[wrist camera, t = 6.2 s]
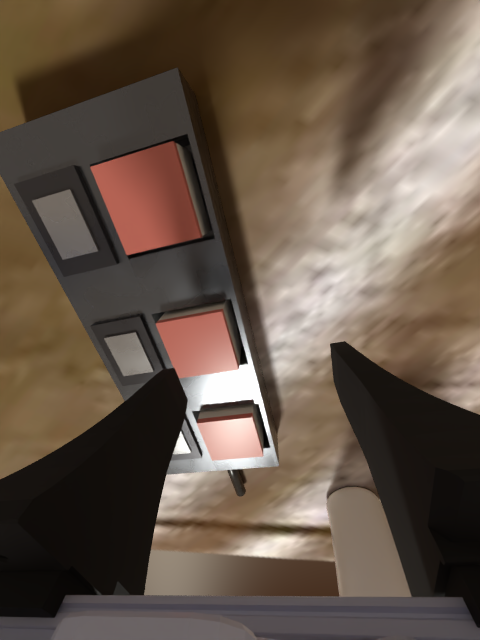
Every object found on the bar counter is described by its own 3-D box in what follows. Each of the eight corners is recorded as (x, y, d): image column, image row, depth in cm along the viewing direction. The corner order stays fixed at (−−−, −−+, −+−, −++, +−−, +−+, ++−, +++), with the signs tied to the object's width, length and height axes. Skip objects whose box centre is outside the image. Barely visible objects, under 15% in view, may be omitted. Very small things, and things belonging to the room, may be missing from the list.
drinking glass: (352, 469, 25) (459, 799, 11) (400, 498, 26) (548, 824, 13) (304, 500, 27) (345, 794, 14) (350, 525, 29) (427, 815, 15)
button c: (148, 245, 16) (126, 255, 13) (121, 171, 14) (90, 166, 11) (210, 230, 15) (200, 237, 12) (189, 151, 13) (172, 140, 11)
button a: (217, 430, 22) (212, 460, 20) (204, 395, 21) (196, 423, 18) (263, 426, 21) (263, 456, 19) (253, 389, 20) (252, 417, 17)
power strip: (196, 488, 28) (188, 524, 25) (32, 149, 15) (-29, 137, 12) (288, 482, 26) (292, 520, 23) (194, 93, 13) (173, 62, 10)
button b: (189, 354, 19) (178, 378, 16) (171, 305, 17) (155, 323, 15) (241, 345, 18) (238, 369, 16) (227, 293, 17) (221, 311, 14)
